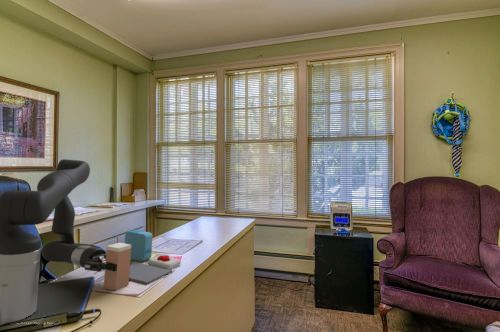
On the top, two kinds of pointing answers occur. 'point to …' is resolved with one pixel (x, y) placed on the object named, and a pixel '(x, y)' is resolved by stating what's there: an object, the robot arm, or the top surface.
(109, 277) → the block
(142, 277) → the mat
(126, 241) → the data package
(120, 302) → the top surface
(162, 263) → the red push button
